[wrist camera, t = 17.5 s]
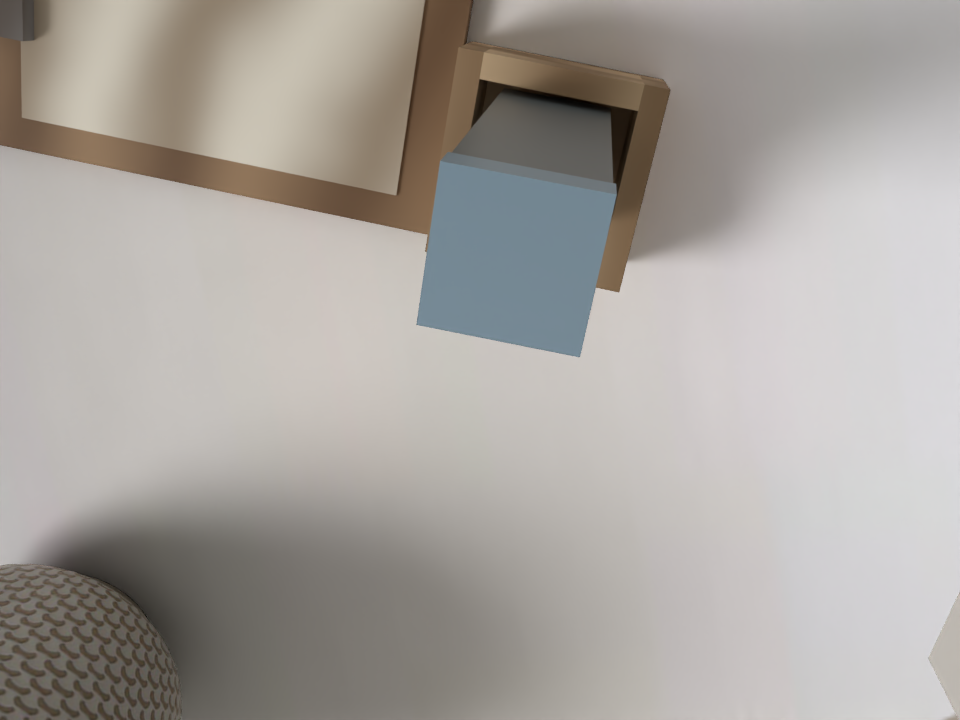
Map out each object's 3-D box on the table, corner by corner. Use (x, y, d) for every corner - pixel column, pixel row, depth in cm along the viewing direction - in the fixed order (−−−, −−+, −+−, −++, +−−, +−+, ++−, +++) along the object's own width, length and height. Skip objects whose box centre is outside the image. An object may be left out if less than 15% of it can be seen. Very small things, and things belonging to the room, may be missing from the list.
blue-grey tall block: (490, 184, 33) (416, 325, 20) (507, 80, 31) (440, 161, 19) (589, 203, 33) (579, 357, 20) (612, 100, 31) (616, 194, 18)
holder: (440, 227, 34) (425, 251, 31) (472, 41, 31) (458, 47, 28) (616, 264, 34) (618, 292, 31) (663, 79, 31) (670, 89, 28)
